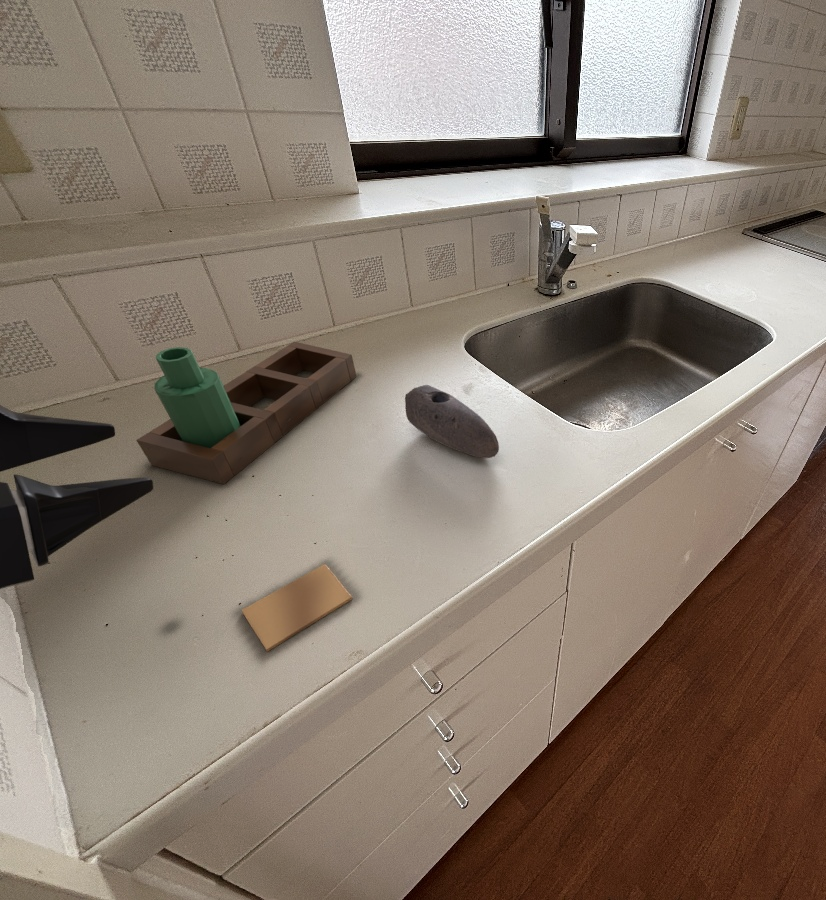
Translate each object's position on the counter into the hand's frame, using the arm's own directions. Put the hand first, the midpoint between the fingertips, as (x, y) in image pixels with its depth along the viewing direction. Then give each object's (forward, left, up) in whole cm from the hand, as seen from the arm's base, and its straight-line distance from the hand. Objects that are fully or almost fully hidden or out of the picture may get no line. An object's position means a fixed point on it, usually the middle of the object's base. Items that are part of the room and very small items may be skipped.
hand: (132, 455), depth 41 cm
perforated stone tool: (+29, +9, -15) cm, 35 cm away
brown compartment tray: (+8, +26, -15) cm, 31 cm away
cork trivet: (+7, -9, -15) cm, 19 cm away
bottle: (+2, +20, -15) cm, 25 cm away
